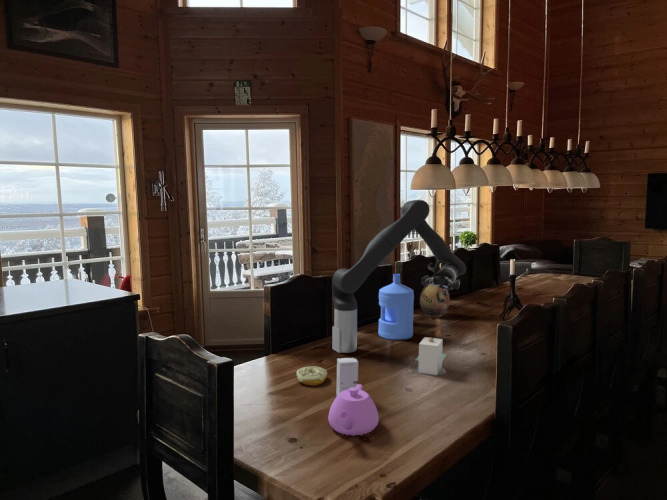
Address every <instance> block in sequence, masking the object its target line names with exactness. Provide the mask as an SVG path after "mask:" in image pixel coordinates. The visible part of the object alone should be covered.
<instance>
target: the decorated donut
mask: <svg viewBox="0 0 667 500" xmlns="http://www.w3.org/2000/svg"><path fill="white" fill-rule="evenodd" d="M296 378H297V380H298V381H299V382H300V383H301V384H303V385H306V386H317V385H321V384H324V382H325V381H326V380H327V378H328V371H327V370H326V369H325V368H323V367H320V366H314V365H313V366H303V367H301V368H298V369H297V371H296Z"/></svg>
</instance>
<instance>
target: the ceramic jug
mask: <svg viewBox="0 0 667 500" xmlns="http://www.w3.org/2000/svg"><path fill="white" fill-rule="evenodd" d="M440 264H441V265H440ZM444 265H446V261H445V262H439V261H438V260H437V259H436V262H435V263H434V262H429V264H428V265H427V269H428V270H429V271H431V272H433V274H432V276H431V277H434V276H435V274H436V273H437V272H438V271H439V270H441V267H442V266H444ZM429 283H430V281H429ZM433 284H434V283H433ZM419 305H420V308H421V309H422V312H424V314H423V315H424V316H425V317H429V318H441V317H443V315H444V313H445V312H446V311H447V310H448V308H449V306H450V293H449V290H447V289H442V288H439V287H438V286H430V285H429V286H427V287H425V286H424V287H423V289H422V291H421V293H420V296H419Z"/></svg>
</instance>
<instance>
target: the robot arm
mask: <svg viewBox="0 0 667 500" xmlns="http://www.w3.org/2000/svg"><path fill="white" fill-rule="evenodd" d="M430 211H431V209H430V205H429V203H428V202H427V201H426V200H423V199H413V200H408V201H406V202H404V204H403V205H402V207H401V217H399V219H398V220H396V221H394V222H393V223H392V224H390V225H388V226H387V227H385V228H383V229H381V231H380V232H378V233H377V234H376V235H375V236H374V237H373V238H372V239H371V240H370V242H369V243H368V244H367V246H366V248H365V249H364V252H363V255H362V256H361V257H360V259H359V260H358V262H356V263H355V264H354V265H353V266H352V267H351V268H340V269H337V270H336V271H335V272H334V274H333V276H332V281H331V282H332V283H331V284H332V285H331V286H332V288H331V289H332V300H333V301H332V302H333V304H334V306H333V307H334V308H333V309H334V313H333V314H334V316H333V317H334V320H333V322H334V325H333V326H332V327H331V328H332V331H331V332H332V337H331V338H332V350H333V351H336V352H337V353H339V354H341V353H343V354H344V353H345V354H348V353H354V352H356V351H357V349H358V348H357V346H358V302H357V299H356V298H355V295H354V294H355V292H356V291H358V290H359V289H360V287H361V286H362V285H363V284H364V282H365V281H366V280H367V278H368V277H369V276H370V275H371V274H372V272H373V271H375V269H377V267H379V266H380V264H381V263H382V262H383V261H384V260H386V258H387V257H388V256H389V255H391V253H392V252H393V251H395V249H396V248H397V247H398V246H399V245H400V244H401V242H402V241H404V240H405V238H406V237H407V236H409V234H410V233H412V231H413V230H415V231H416V232H417V234H418V235H419V236H420V238H421V240H423V241H424V243H425V244H426V246H427V247H428V248H429V250H430V251H431V254H432V255H433V256H434V258H435V259H436V261H437V260H438V261H439V262H445V265H444V266H442V267H441V266H440V269H441V270H439V271H438V272H437V273H436V274H435V276H434V277H432V276H430V277H429V275H427V274H425V275H424V276H423V277H421V285H422V286H424V287H427V286H429V285H430V286H438V287H439V288H442V289H447V291H451V290H453V289H455V290H459V288H460V285H461V280H460V279H457V278H458V277H461V276H462V275H464V274H466V271H467V266H466V264H465V262H463V261H462V260H461V259H460V258H459V257H458V256H457V255H456V254H455V253H454V252H453V251H452V250H451V249H450V248H449V246H448V244H447V243H446V241H445V240H444V239H443V238H442V236H440V234H438V232H436V231H435V229H433V228H432V227H431V225H430V224H429V223H428V222H427V220H426V219H427V218H428V216H429V215H430ZM446 262H447V264H446ZM429 281H430V283H429ZM433 283H434V284H433Z"/></svg>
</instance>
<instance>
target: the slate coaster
mask: <svg viewBox="0 0 667 500" xmlns="http://www.w3.org/2000/svg"><path fill="white" fill-rule="evenodd" d="M418 367H419V365H417V366H416V367H414V371H416V372H417V373H418ZM446 373H447V370H446V369H445V368H444V367H442V368H441V369H440V371H439V373H438V374H437V375H432V374H425V373H419V374H421V375H425V376H433V377H434V376H441V375H445V374H446Z"/></svg>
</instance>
